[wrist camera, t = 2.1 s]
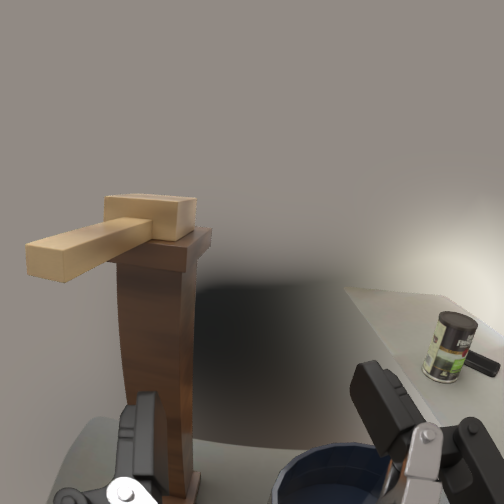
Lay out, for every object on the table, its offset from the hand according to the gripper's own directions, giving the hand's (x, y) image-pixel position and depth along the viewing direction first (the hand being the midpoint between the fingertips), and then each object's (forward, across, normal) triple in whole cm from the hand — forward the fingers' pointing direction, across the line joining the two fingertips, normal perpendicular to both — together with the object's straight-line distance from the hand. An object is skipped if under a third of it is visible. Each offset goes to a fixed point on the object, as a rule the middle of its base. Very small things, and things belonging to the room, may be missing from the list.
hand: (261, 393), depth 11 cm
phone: (+24, -65, +45) cm, 82 cm away
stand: (+6, +10, +29) cm, 31 cm away
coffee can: (+24, -50, +43) cm, 70 cm away
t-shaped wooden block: (+8, +6, -3) cm, 11 cm away
